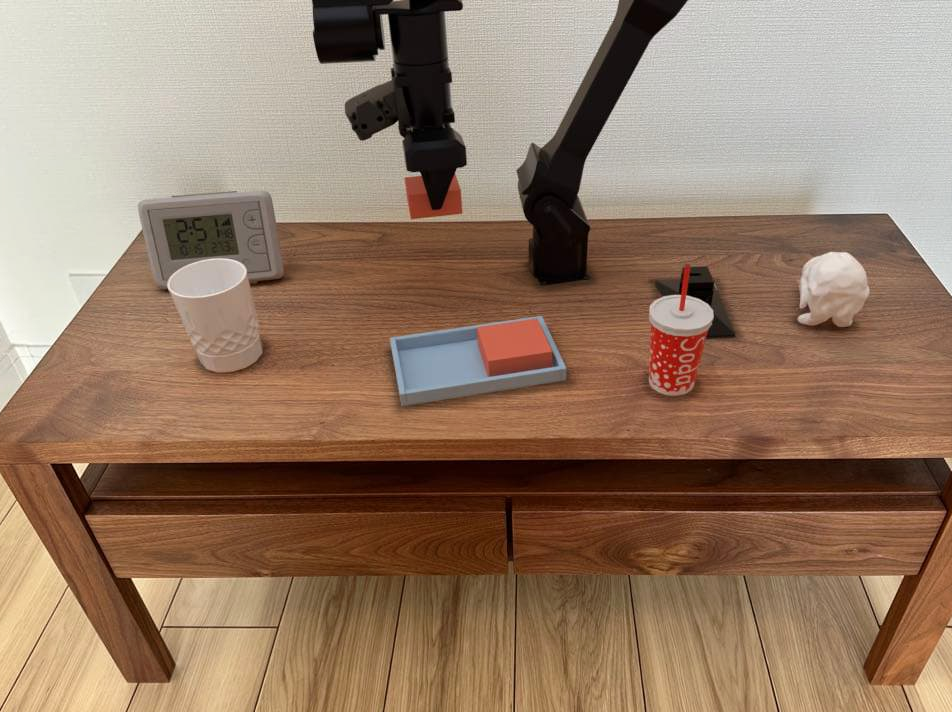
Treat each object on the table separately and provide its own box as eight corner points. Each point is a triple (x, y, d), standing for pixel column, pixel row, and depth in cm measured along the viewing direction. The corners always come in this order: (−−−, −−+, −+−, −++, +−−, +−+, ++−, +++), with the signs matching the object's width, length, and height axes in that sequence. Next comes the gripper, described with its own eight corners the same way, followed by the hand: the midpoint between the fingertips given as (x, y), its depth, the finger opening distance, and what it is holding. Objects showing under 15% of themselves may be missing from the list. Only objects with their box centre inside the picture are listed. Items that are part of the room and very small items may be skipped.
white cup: (248, 380, 81) (223, 300, 74) (181, 373, 82) (151, 293, 76) (280, 338, 87) (259, 261, 80) (217, 332, 88) (192, 255, 82)
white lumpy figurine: (817, 265, 79) (797, 223, 89) (800, 337, 84) (783, 289, 94) (880, 268, 78) (853, 225, 88) (860, 340, 83) (836, 292, 93)
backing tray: (541, 330, 87) (541, 315, 85) (566, 383, 79) (566, 368, 78) (391, 352, 84) (389, 337, 83) (402, 409, 76) (399, 394, 75)
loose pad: (456, 196, 92) (455, 172, 90) (462, 214, 88) (460, 189, 86) (407, 201, 91) (404, 177, 89) (410, 219, 87) (407, 195, 85)
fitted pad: (537, 336, 85) (537, 318, 83) (552, 370, 80) (552, 351, 78) (477, 345, 84) (476, 327, 82) (489, 380, 79) (488, 361, 77)
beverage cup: (646, 405, 76) (661, 283, 67) (636, 368, 81) (648, 250, 72) (707, 402, 76) (729, 281, 67) (693, 365, 81) (713, 247, 72)
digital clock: (150, 293, 95) (120, 215, 88) (179, 258, 102) (153, 182, 95) (276, 295, 94) (256, 215, 87) (296, 259, 101) (279, 183, 94)
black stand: (654, 282, 94) (658, 249, 91) (713, 281, 94) (718, 247, 91) (672, 339, 85) (677, 303, 82) (738, 337, 85) (745, 301, 82)
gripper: (340, 40, 85) (361, 174, 95) (344, 93, 71) (368, 244, 81) (439, 32, 86) (450, 165, 96) (462, 82, 72) (471, 232, 82)
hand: (434, 199), depth 89 cm, fingers closed on loose pad, 5 cm apart
